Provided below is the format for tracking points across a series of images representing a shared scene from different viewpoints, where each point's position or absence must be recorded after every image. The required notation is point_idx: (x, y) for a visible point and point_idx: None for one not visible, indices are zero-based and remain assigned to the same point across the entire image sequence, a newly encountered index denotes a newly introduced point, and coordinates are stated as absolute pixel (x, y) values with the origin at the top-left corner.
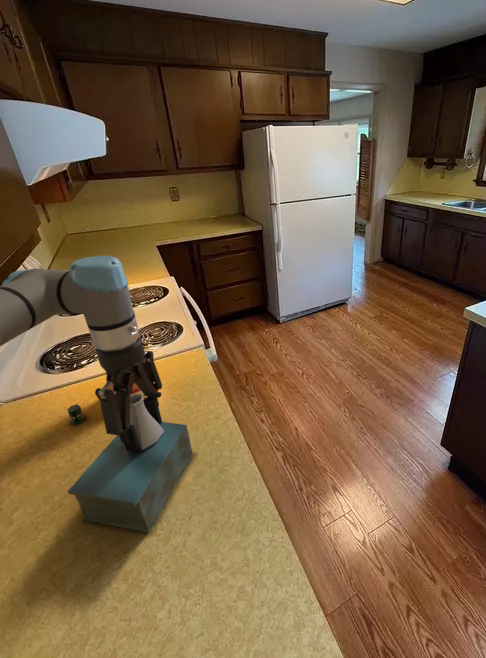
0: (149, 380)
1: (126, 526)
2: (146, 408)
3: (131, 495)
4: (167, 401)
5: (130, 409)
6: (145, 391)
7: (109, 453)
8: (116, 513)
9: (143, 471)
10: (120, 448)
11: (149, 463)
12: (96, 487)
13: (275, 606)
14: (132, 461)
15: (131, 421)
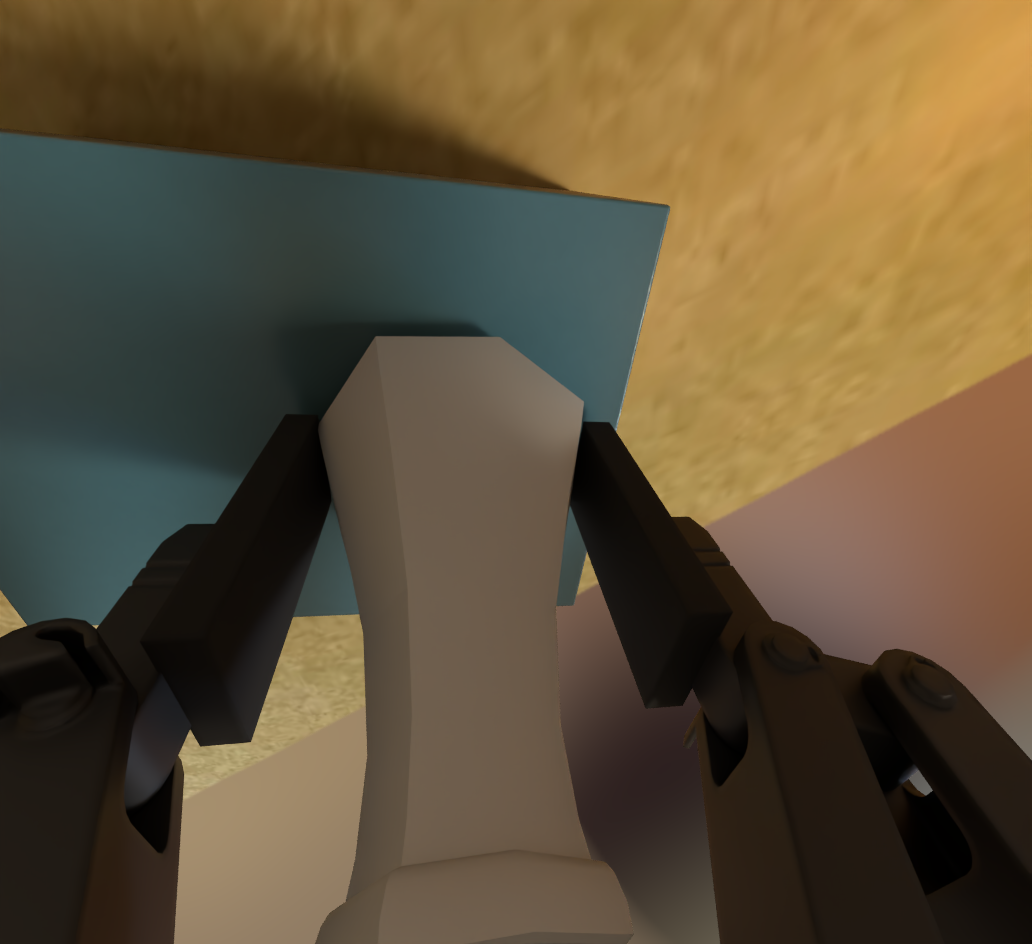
0: (989, 905)
1: None
2: (632, 528)
3: (52, 595)
4: (948, 155)
5: (369, 787)
6: (748, 815)
7: (225, 254)
8: None
9: None
10: (306, 327)
11: None
12: None
13: (198, 744)
14: (241, 482)
15: (364, 597)
